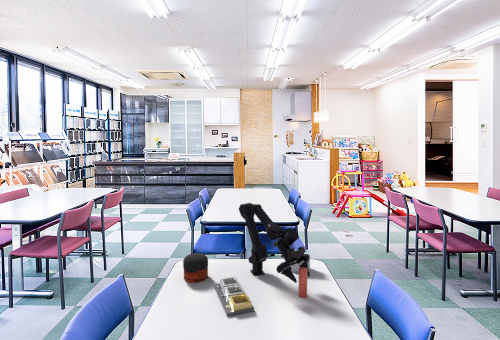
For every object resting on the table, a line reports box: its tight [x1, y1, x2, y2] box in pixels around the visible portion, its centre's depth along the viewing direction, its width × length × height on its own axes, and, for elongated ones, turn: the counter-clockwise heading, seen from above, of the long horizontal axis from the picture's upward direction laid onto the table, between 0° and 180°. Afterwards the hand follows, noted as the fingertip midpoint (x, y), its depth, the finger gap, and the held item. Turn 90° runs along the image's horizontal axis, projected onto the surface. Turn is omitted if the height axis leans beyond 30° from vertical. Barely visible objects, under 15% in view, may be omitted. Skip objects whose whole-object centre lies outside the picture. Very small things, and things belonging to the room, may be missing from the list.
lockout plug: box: [297, 267, 308, 299], centre depth 145 cm, size 4×4×13 cm
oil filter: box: [182, 252, 209, 284], centre depth 164 cm, size 13×12×13 cm
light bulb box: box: [291, 249, 311, 273], centre depth 173 cm, size 11×7×11 cm, turn 84°
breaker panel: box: [213, 276, 255, 317], centre depth 143 cm, size 27×12×4 cm, turn 18°
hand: (302, 279), depth 145 cm, fingers open, 9 cm apart
